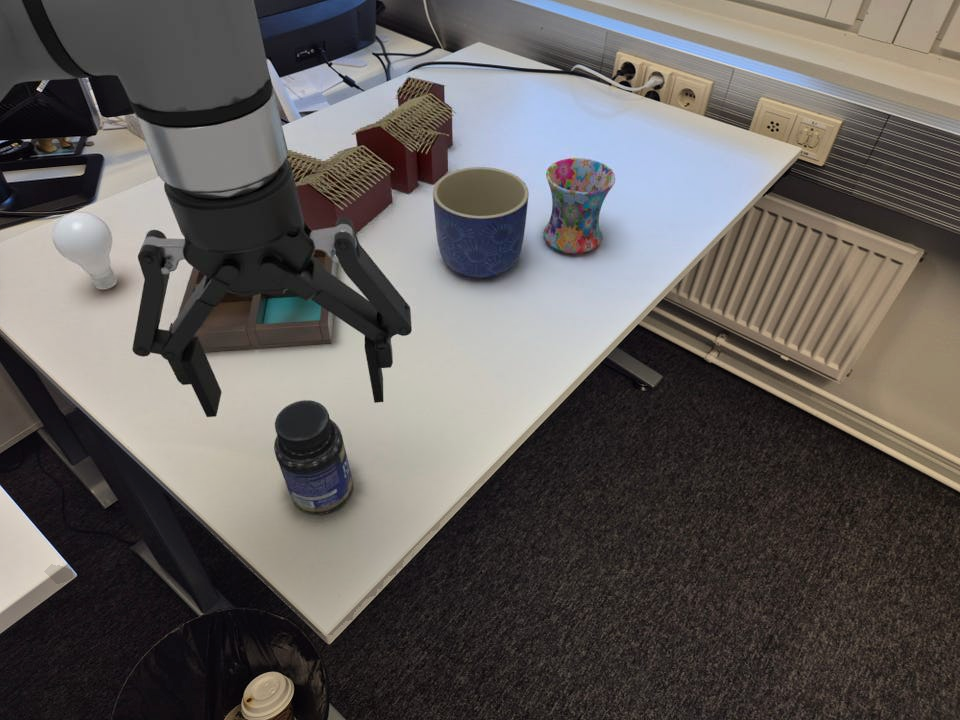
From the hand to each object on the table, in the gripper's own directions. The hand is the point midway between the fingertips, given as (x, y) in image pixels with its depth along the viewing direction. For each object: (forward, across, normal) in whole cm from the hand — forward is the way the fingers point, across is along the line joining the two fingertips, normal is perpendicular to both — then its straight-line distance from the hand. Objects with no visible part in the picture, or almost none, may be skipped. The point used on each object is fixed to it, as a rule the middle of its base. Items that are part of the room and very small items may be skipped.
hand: (297, 397), depth 54 cm
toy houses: (+14, -7, -64) cm, 66 cm away
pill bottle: (+14, 0, 0) cm, 14 cm away
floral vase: (+14, -35, -40) cm, 55 cm away
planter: (+14, -20, -36) cm, 43 cm away
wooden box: (+14, +9, -30) cm, 34 cm away
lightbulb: (+14, +30, -35) cm, 48 cm away
